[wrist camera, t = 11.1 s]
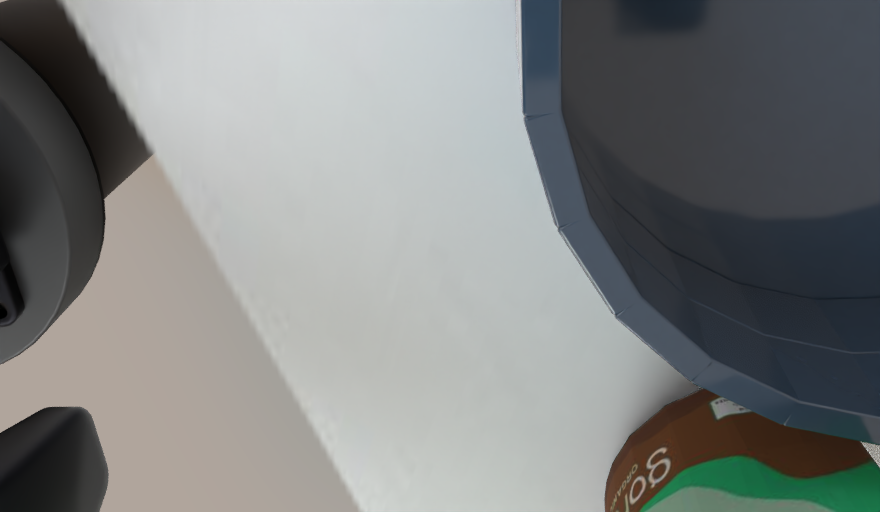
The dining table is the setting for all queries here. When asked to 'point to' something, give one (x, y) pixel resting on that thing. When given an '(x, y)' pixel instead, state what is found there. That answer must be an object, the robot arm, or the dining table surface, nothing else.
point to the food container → (737, 464)
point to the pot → (722, 188)
